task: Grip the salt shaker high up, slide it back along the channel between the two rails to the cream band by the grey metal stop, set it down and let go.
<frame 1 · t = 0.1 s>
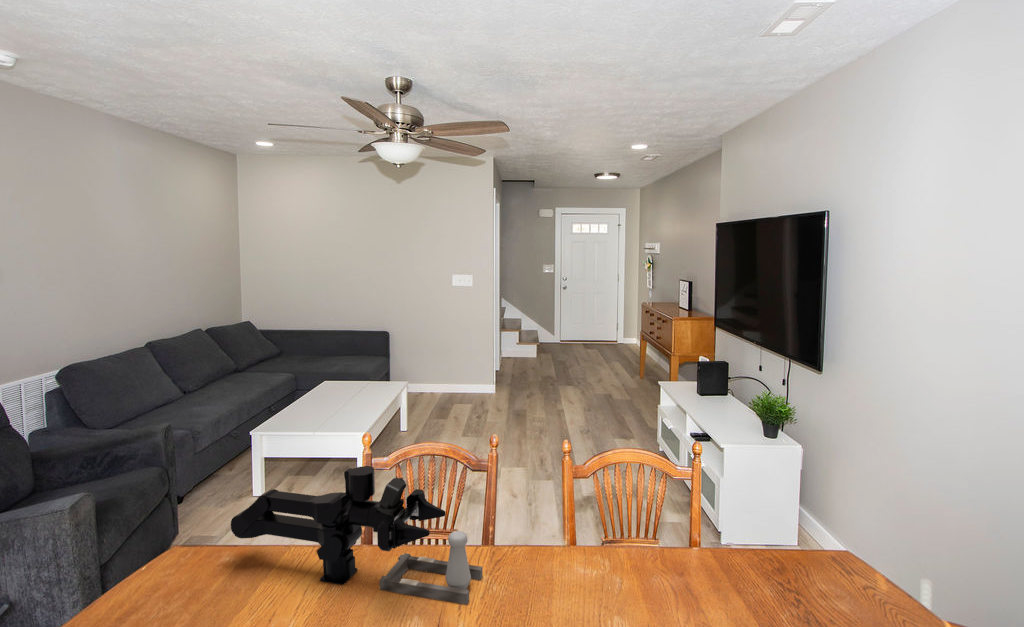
hand: (437, 522, 127), 17 cm above the table, tool horizontal, fingers open, 9 cm apart
guide rails: (432, 583, 133), on the table
salt shaker: (458, 588, 131), on the table
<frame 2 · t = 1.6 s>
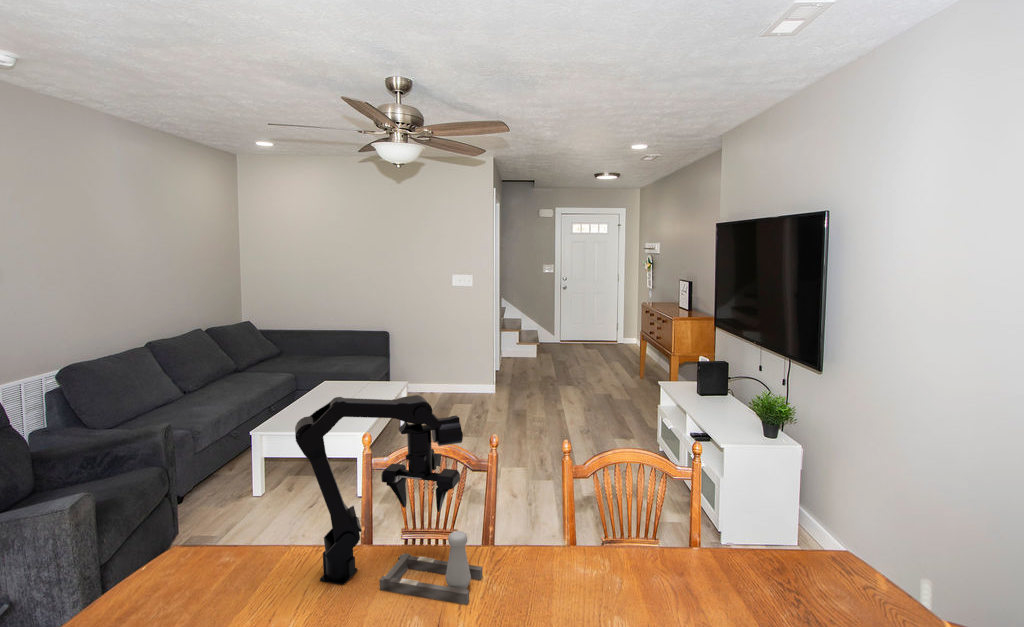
hand: (421, 509, 141), 13 cm above the table, tool pointing down, fingers open, 9 cm apart
nothing on the table moved.
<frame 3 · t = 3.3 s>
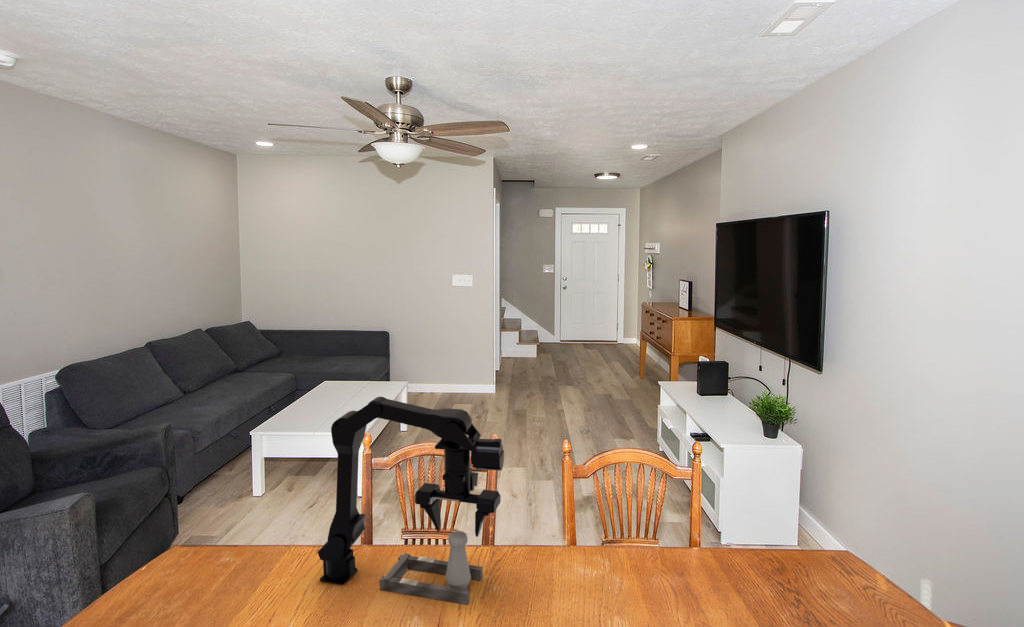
hand: (458, 533, 130), 13 cm above the table, tool pointing down, fingers open, 9 cm apart
nothing on the table moved.
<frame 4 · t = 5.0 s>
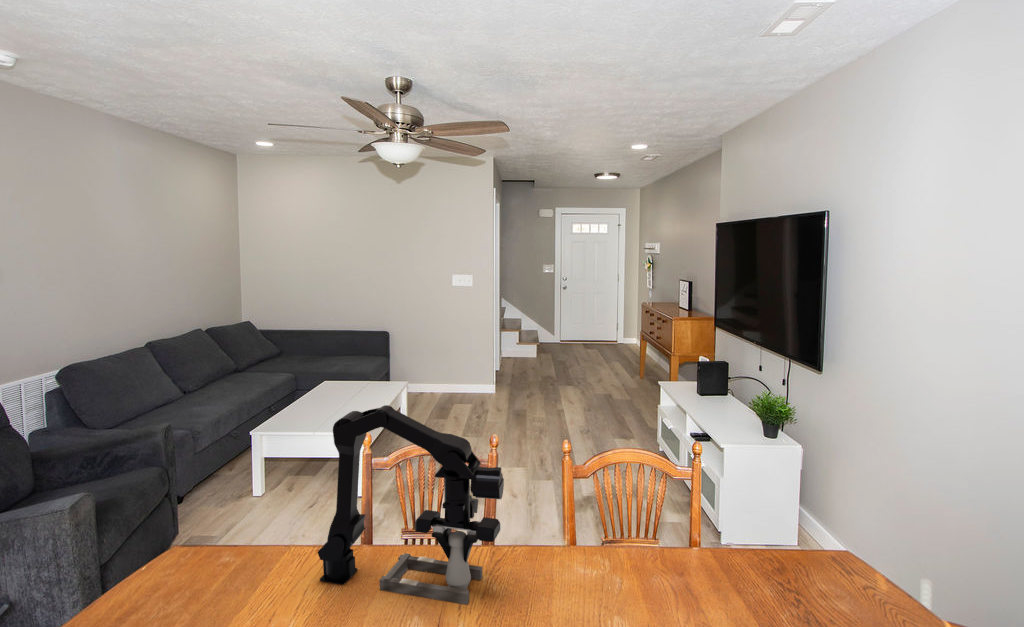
hand: (458, 560, 130), 7 cm above the table, tool pointing down, fingers closed on salt shaker, 3 cm apart
salt shaker: (458, 588, 131), on the table, touching gripper
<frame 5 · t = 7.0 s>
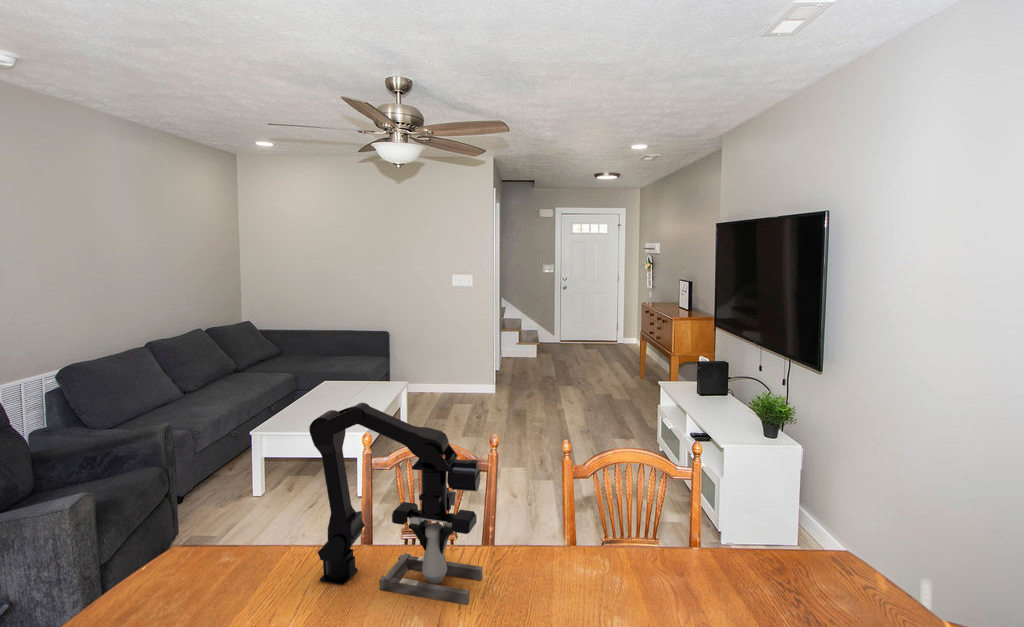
hand: (434, 552, 132), 8 cm above the table, tool pointing down, fingers closed on salt shaker, 3 cm apart
salt shaker: (434, 579, 132), point 1 cm above the table, touching gripper
when the fingers open (7 cm above the table, at t = 9.0 s): salt shaker stays where it is, on the table.
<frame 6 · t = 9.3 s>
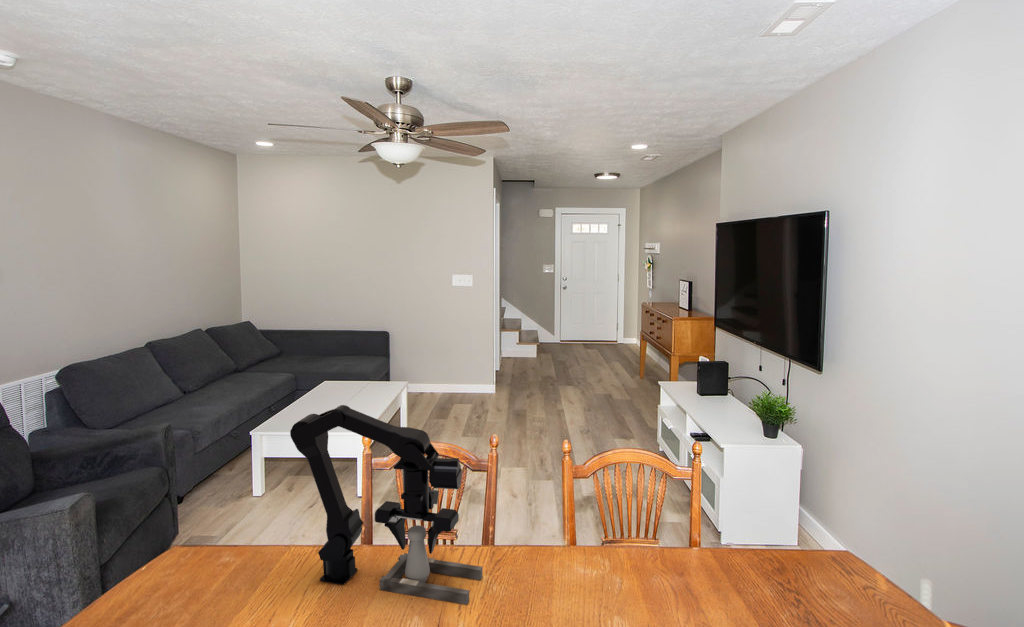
hand: (417, 550, 133), 7 cm above the table, tool pointing down, fingers open, 7 cm apart
salt shaker: (417, 581, 134), on the table
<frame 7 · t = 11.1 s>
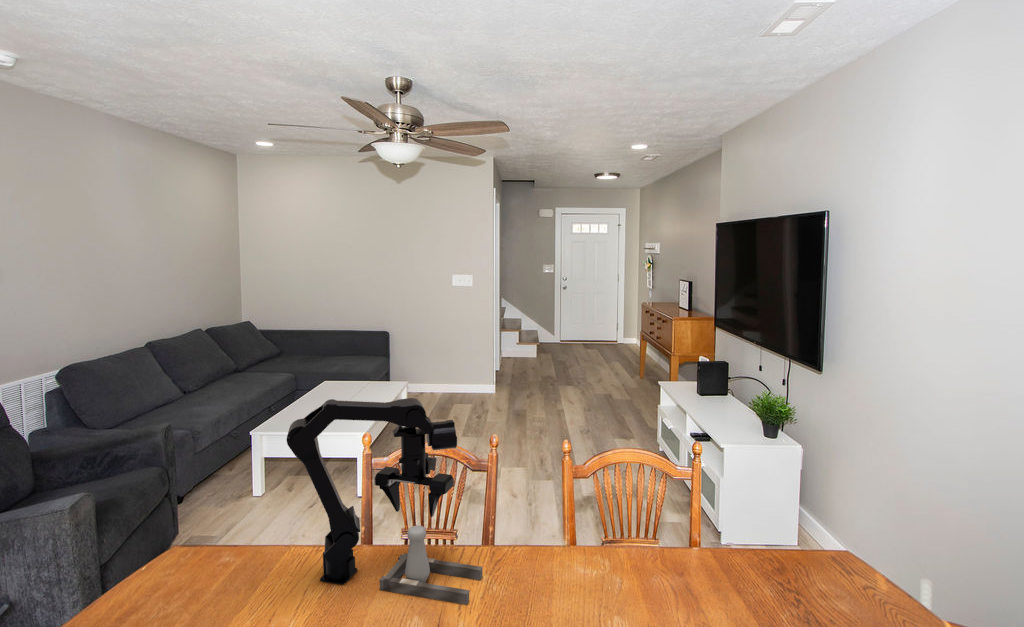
hand: (414, 513, 139), 13 cm above the table, tool pointing down, fingers open, 9 cm apart
nothing on the table moved.
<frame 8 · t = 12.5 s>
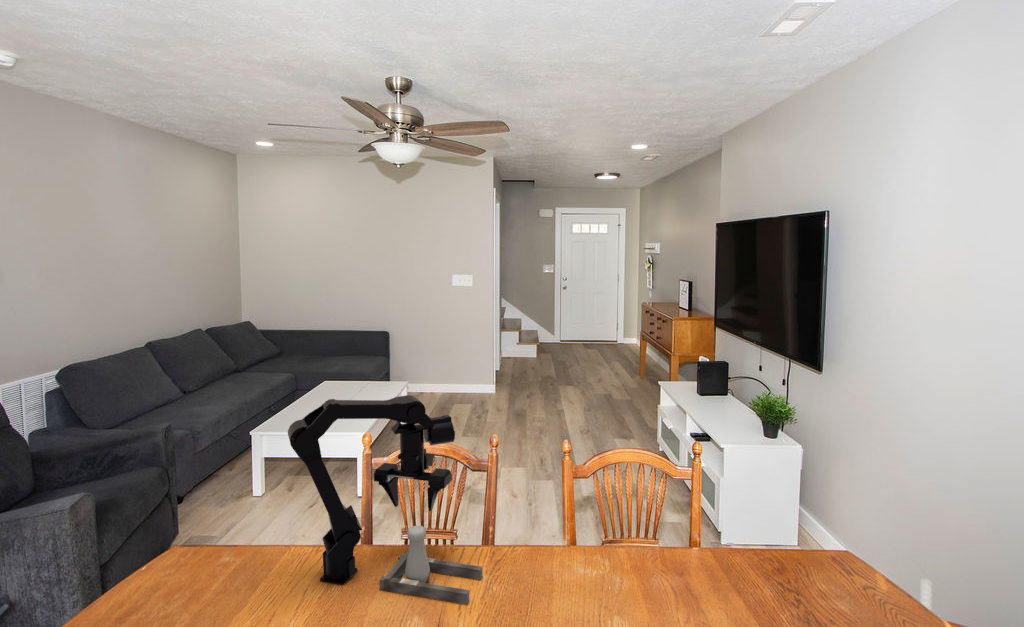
hand: (413, 508, 142), 13 cm above the table, tool pointing down, fingers open, 9 cm apart
nothing on the table moved.
at the end: salt shaker 0.1 cm from the target spot, on the table; salt shaker tilted 0°; the gripper is holding nothing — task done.
